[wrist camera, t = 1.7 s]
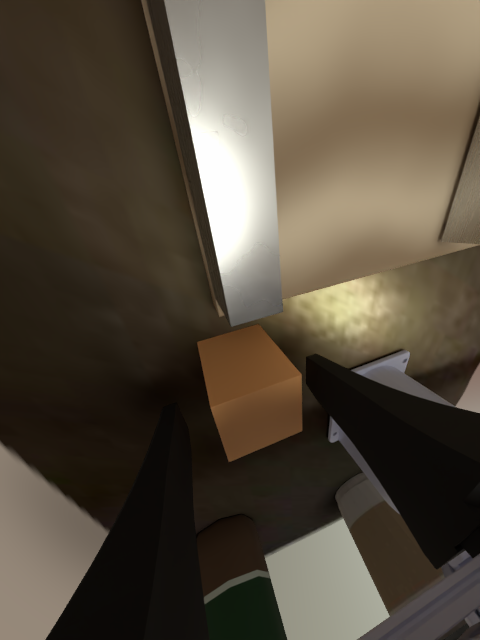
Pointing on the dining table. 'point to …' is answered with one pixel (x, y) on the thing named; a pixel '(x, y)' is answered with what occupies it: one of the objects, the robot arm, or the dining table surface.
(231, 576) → the beer bottle
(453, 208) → the moving jaw
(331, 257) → the vise bed
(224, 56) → the fixed jaw
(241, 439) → the orange block
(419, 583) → the coffee cup
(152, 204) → the dining table surface
